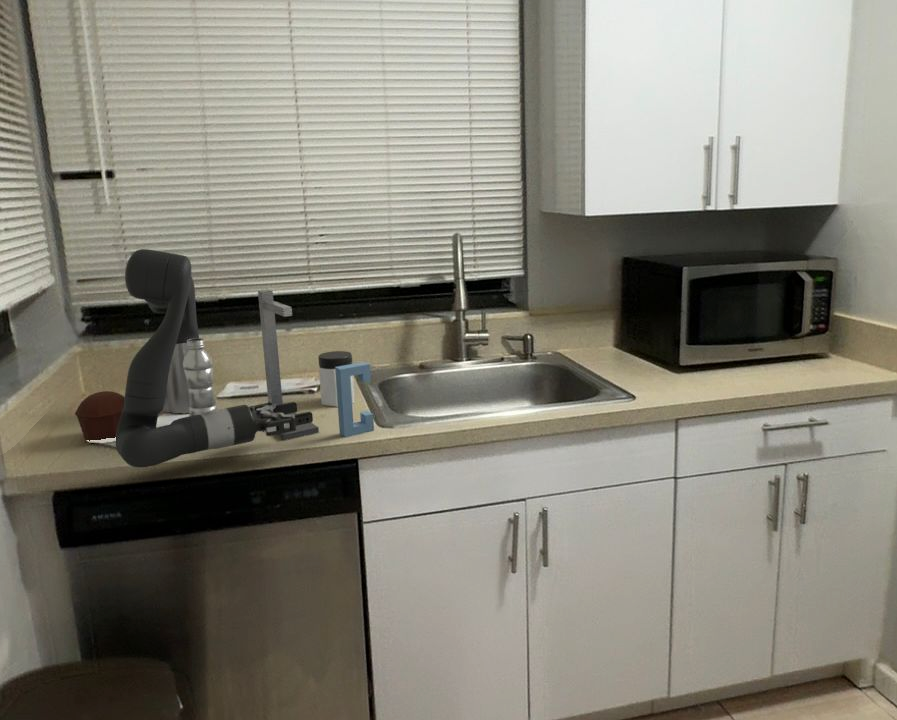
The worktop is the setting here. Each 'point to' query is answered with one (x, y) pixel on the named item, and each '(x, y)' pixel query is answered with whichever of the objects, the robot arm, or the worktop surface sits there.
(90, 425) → the muffin
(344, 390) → the c link
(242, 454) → the worktop surface
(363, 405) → the worktop surface
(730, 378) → the worktop surface
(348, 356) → the jar
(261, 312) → the stand
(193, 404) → the plastic bottle
